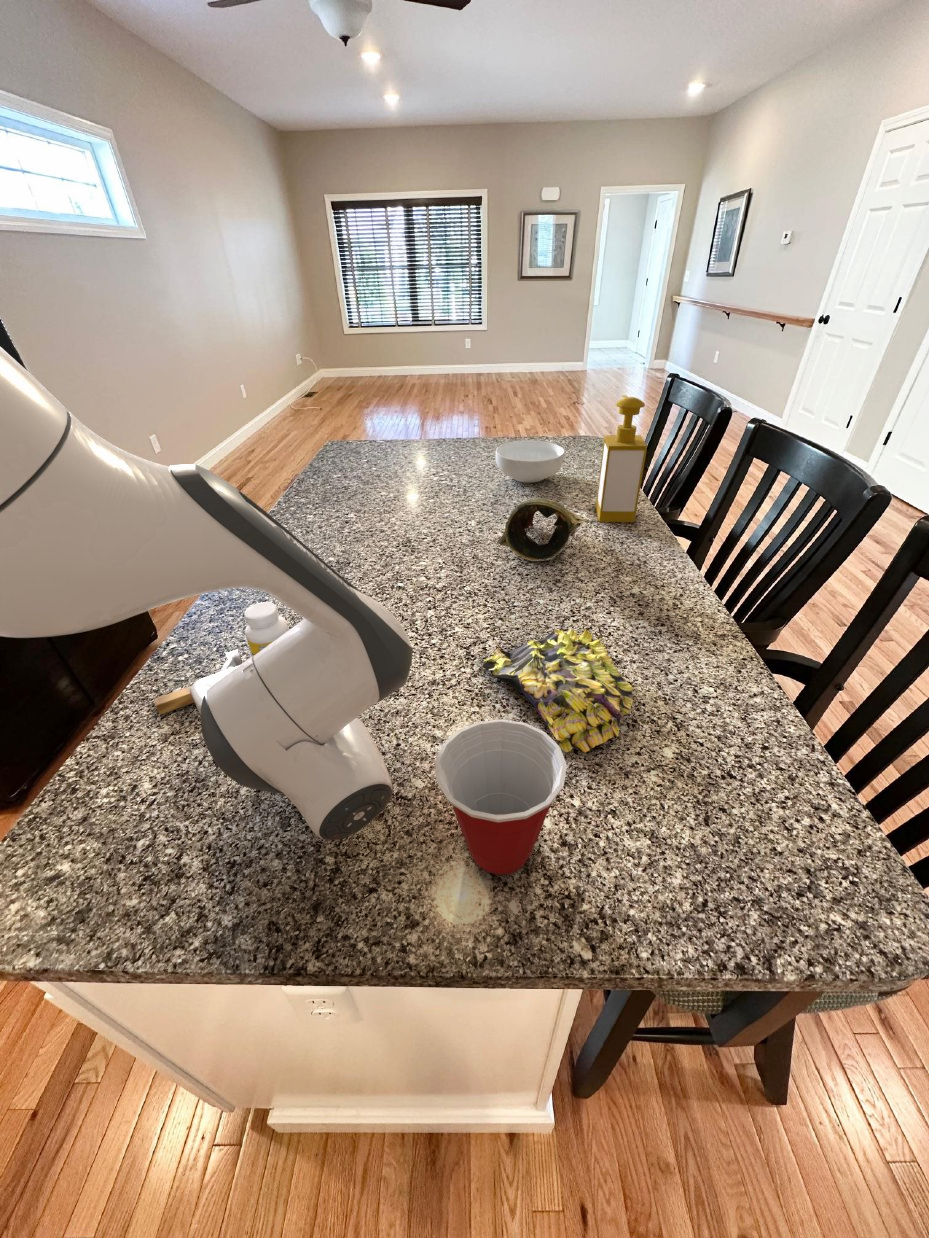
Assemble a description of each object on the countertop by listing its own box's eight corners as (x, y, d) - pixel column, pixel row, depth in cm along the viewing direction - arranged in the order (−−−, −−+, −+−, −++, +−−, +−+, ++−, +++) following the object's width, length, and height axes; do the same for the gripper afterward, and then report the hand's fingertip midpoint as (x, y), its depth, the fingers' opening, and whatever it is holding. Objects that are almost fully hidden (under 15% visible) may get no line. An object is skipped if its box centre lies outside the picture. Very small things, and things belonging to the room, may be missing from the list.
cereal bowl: (519, 494, 121) (520, 465, 117) (483, 474, 133) (482, 447, 129) (576, 480, 127) (579, 451, 123) (537, 462, 139) (538, 436, 135)
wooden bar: (160, 715, 64) (155, 705, 64) (158, 707, 66) (154, 698, 65) (242, 685, 69) (238, 676, 68) (239, 678, 70) (236, 669, 69)
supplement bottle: (259, 660, 73) (239, 603, 67) (298, 652, 74) (282, 595, 68) (258, 685, 68) (237, 625, 63) (300, 676, 70) (283, 617, 64)
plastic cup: (528, 783, 54) (533, 700, 47) (577, 878, 46) (592, 795, 39) (429, 812, 52) (419, 730, 45) (462, 919, 43) (456, 837, 36)
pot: (585, 482, 101) (580, 485, 84) (598, 538, 103) (595, 551, 87) (503, 505, 107) (482, 513, 90) (516, 558, 109) (499, 574, 92)
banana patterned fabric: (660, 740, 60) (662, 710, 55) (528, 789, 60) (518, 763, 55) (589, 623, 74) (585, 592, 69) (482, 663, 74) (471, 634, 69)
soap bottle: (625, 499, 117) (642, 387, 103) (634, 522, 106) (654, 401, 93) (593, 498, 117) (605, 387, 104) (599, 521, 107) (614, 402, 94)
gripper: (388, 650, 58) (344, 596, 68) (195, 724, 50) (177, 650, 59) (394, 692, 62) (352, 634, 71) (215, 767, 53) (195, 690, 63)
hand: (271, 642), depth 65 cm, fingers open, 8 cm apart
